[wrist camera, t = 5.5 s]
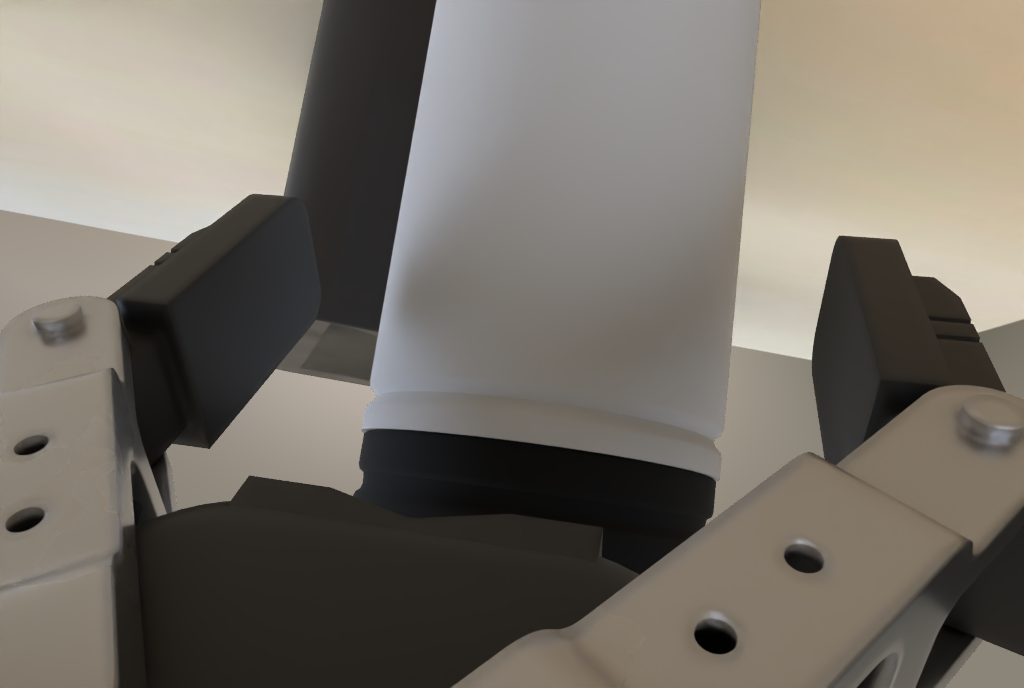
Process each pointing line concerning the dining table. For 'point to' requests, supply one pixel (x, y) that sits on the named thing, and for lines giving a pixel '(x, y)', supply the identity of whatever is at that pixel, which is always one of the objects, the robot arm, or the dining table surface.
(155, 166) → the dining table surface
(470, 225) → the travel mug
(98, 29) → the dining table surface
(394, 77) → the bin
